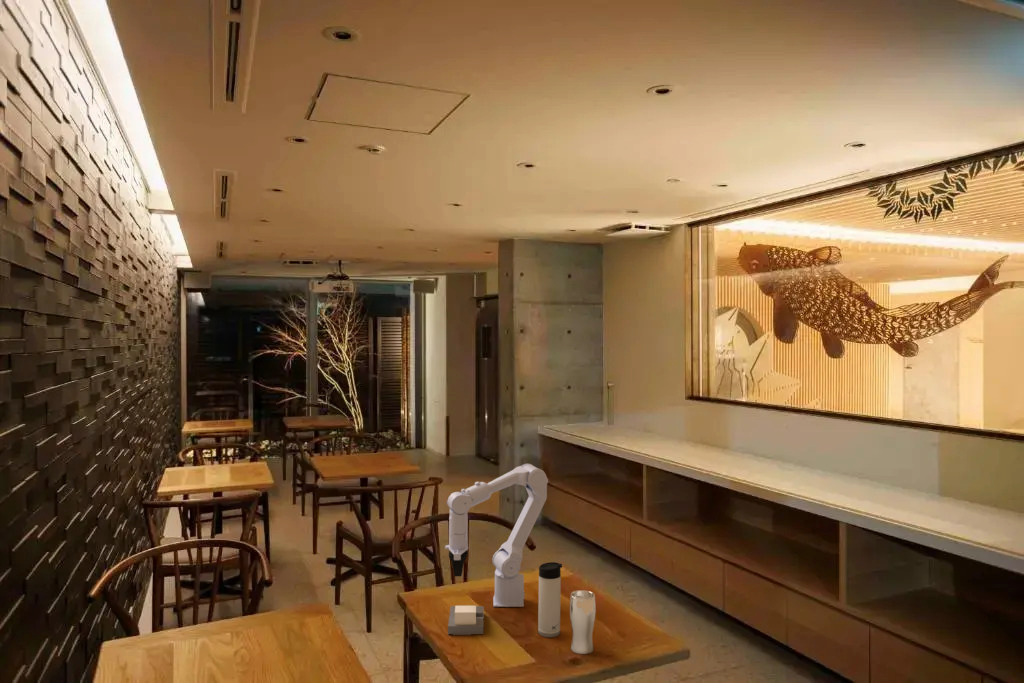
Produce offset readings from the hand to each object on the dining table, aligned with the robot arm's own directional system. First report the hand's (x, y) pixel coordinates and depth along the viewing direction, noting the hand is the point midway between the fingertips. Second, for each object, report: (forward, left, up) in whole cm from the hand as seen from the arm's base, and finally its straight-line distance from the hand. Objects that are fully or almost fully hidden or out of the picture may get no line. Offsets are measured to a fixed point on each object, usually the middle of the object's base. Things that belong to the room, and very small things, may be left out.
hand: (458, 575), depth 217 cm
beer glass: (-35, +27, -11) cm, 45 cm away
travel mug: (-27, +17, -11) cm, 34 cm away
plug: (-3, +15, -10) cm, 18 cm away
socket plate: (-3, +11, -10) cm, 15 cm away
